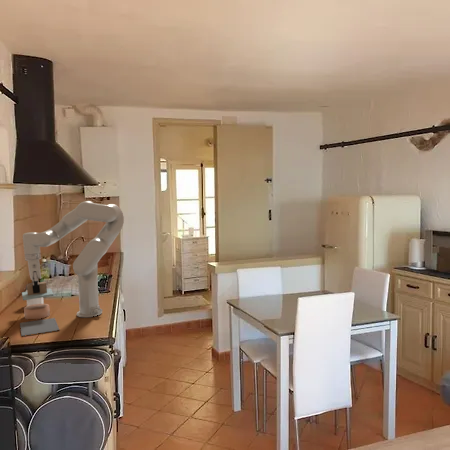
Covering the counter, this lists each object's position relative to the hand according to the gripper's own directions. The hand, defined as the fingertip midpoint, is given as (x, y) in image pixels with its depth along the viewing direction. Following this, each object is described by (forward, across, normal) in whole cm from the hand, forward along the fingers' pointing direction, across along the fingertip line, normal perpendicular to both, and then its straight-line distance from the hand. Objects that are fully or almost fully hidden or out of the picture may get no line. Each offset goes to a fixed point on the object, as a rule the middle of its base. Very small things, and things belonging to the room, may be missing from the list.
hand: (36, 291), depth 231 cm
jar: (+13, +23, 0) cm, 26 cm away
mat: (+13, -20, +1) cm, 24 cm away
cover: (+2, 0, 0) cm, 2 cm away
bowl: (+13, 0, +1) cm, 13 cm away
